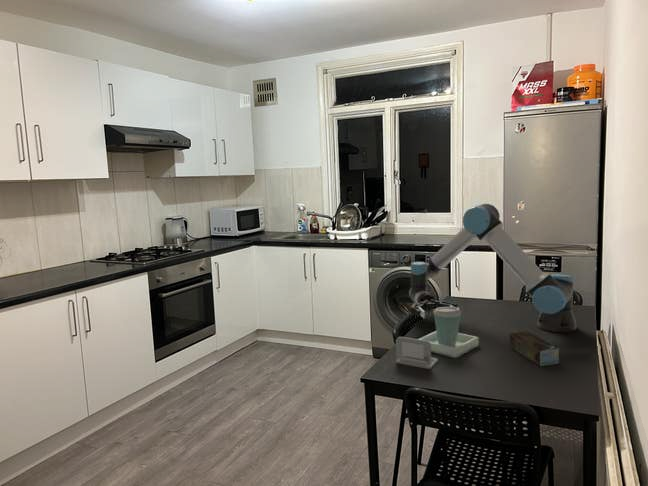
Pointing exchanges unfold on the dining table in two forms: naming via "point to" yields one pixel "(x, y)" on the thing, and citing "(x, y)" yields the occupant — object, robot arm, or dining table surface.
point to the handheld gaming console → (414, 353)
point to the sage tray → (461, 346)
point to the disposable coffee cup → (447, 325)
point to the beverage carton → (534, 348)
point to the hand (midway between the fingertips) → (440, 313)
